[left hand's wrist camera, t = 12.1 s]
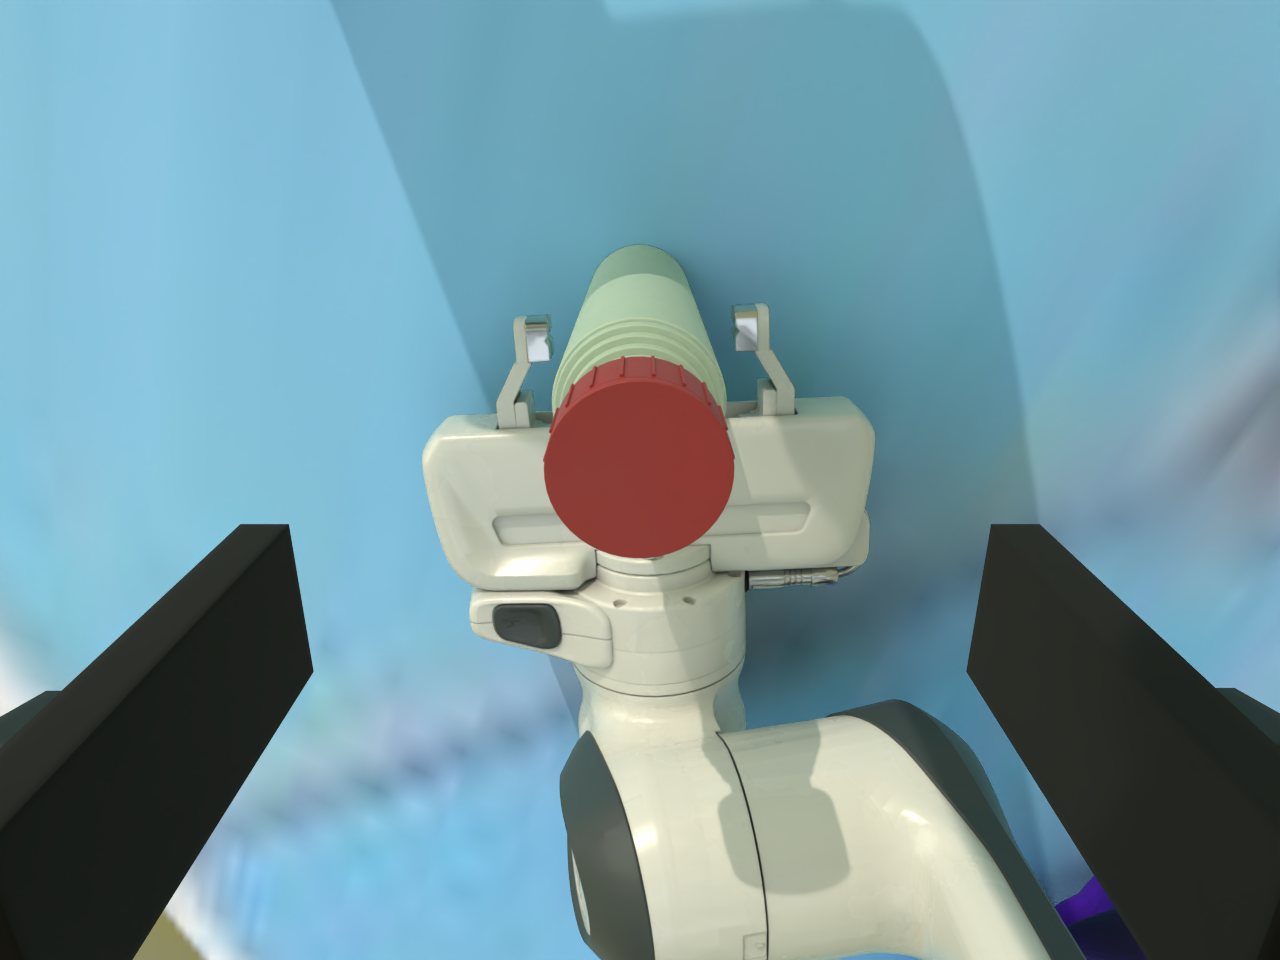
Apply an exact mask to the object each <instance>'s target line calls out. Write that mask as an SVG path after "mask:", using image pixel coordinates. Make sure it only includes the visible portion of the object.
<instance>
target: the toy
mask: <svg viewBox="0 0 1280 960" xmlns="http://www.w3.org/2000/svg"><path fill="white" fill-rule="evenodd" d="M1055 909H1056V911H1057V912H1058V914H1059V915H1060V917H1061V919H1062V920H1063V922H1064V924H1065V925H1066V927H1067V928H1068V930H1069V932H1070V933H1071V935H1072V936H1073V938H1074V940H1075V941H1076V943H1077V945H1078V946H1079V948H1080V949H1081V951H1082V953H1083V954H1084V956H1085V958H1086V959H1087V960H1147V958H1146V956H1145V955H1144V953H1143V952H1142V950H1141V948H1140V947H1139V945H1138V944H1137V942H1136V941H1135V939H1134V937H1133V936H1132V934H1131V933H1130V931H1129V929H1128V928H1127V926H1126V925H1125V923H1124V921H1123V920H1122V918H1121V917H1120V915H1119V913H1118V912H1117V910H1116V909H1115V907H1114V906H1113V904H1112V902H1111V901H1110V899H1109V898H1108V896H1107V894H1106V893H1105V891H1104V890H1103V888H1102V886H1101V885H1100V883H1099V882H1098V880H1097V878H1096V877H1095V875H1094V876H1093V877H1092V879H1091V880H1090V881H1089V882H1088V883H1087V884H1086V885H1085V887H1084V888H1083V889H1082V890H1081V891H1080V892H1079V893H1078V894H1077V895H1074V896H1072V897H1070V898H1068V899H1066V900H1064V901H1062V902H1060V903H1059V904H1058V905H1056V906H1055Z"/></svg>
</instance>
